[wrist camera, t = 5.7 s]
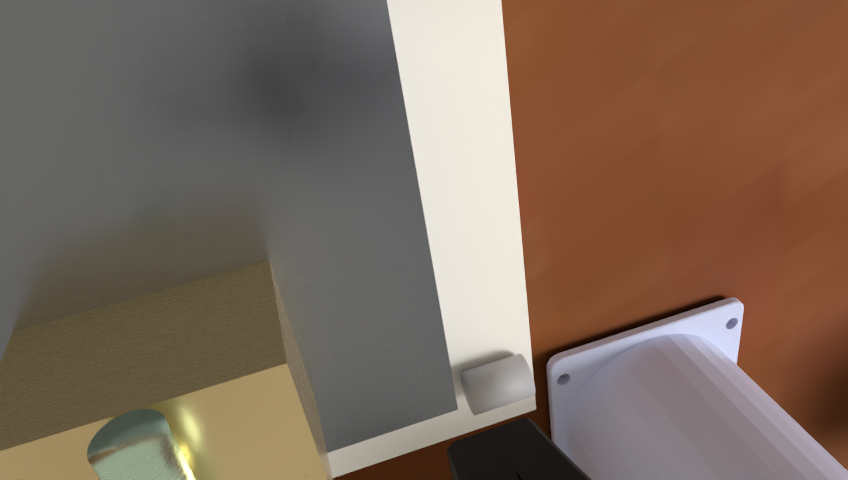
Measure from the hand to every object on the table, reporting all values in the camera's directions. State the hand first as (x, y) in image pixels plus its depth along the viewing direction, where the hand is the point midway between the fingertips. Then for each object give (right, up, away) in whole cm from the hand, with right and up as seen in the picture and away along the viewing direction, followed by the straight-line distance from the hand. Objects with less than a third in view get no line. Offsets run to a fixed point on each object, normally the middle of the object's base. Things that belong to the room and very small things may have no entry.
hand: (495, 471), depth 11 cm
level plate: (-8, +3, +6) cm, 11 cm away
